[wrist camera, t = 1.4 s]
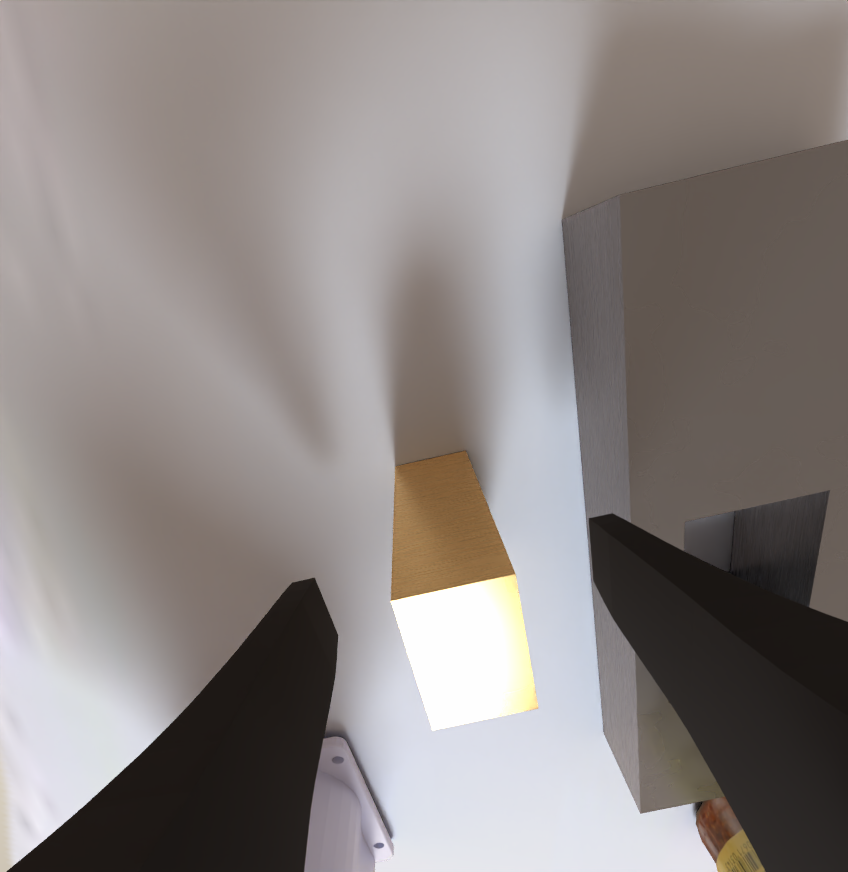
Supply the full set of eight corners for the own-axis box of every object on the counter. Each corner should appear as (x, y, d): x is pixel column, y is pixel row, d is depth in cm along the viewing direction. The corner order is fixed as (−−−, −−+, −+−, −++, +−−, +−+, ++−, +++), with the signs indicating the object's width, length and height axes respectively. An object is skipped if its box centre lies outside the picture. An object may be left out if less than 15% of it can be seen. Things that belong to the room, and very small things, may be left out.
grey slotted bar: (751, 703, 18) (814, 778, 15) (603, 733, 18) (640, 813, 16) (818, 158, 10) (971, 110, 8) (562, 219, 11) (619, 195, 8)
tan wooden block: (484, 543, 14) (537, 708, 9) (420, 557, 14) (432, 730, 9) (465, 450, 13) (515, 574, 7) (395, 466, 13) (390, 601, 7)
